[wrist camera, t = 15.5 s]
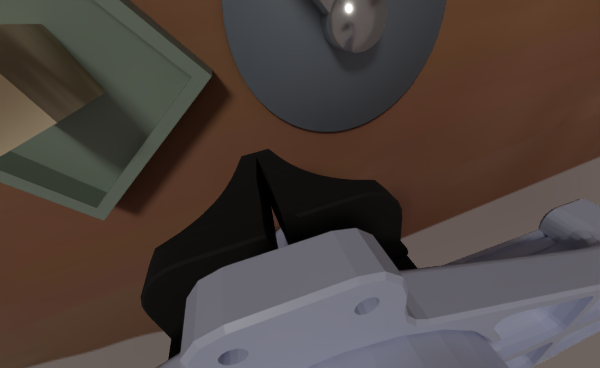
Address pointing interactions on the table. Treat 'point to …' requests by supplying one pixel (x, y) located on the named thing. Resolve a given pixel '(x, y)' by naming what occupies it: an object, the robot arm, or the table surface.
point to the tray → (104, 102)
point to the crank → (353, 22)
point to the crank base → (327, 60)
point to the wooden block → (37, 83)
